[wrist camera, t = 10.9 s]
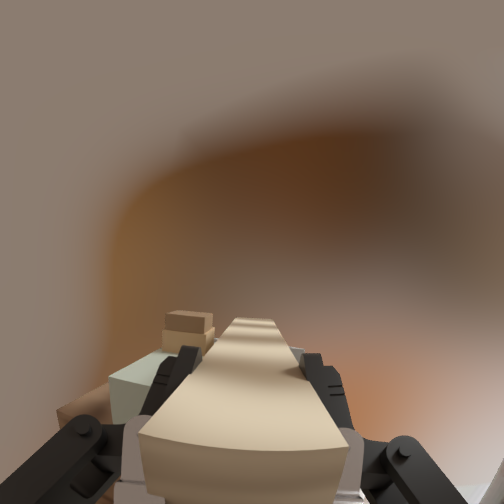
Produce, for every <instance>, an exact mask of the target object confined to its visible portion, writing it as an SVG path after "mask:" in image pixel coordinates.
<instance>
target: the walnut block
mask: <svg viewBox="0 0 504 504" xmlns="http://www.w3.org/2000/svg"><path fill="white" fill-rule="evenodd" d="M56 411H57V417H58V421H59V426H60V429H62V428H63V427H64V426H65V425H66V424H67V423H68V422H69V421H70V420H71V419H73V418H74V417H76V416H78V415H82V414H87V415H91V416H93V417H95V418H96V419H97V420H98V421H99V422H100V423H101V424H113V420H112V412H111V403H110V391H109V382H107V383H105V384H104V385H102V386H100V387H98V388H96V389H95V390H93V391H91V392H89V393H87V394H85V395H83V396H82V397H80V398H78V399H76V400H74V401H72V402H70V403H69V404H67V405H65V406H63V407H61V408H59V409H57V410H56ZM120 478H121V475H120V476H119V477H118V479H117V480H116V481H118V480H120ZM116 481H115V482H114V483H113V484H112V485H111V486H110V488H109V489H108V490H107V491H106V492H105V493H104V494H103V495H102V496H101V498H100V499H99V500H98V501H97V502H96V503H95V504H114V486H115V483H116Z"/></svg>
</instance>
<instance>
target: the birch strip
mask: <svg viewBox="0 0 504 504" xmlns="http://www.w3.org/2000/svg"><path fill="white" fill-rule="evenodd" d="M138 437H139V446H140V453H141V460H142V466H143V472H144V478H145V483H146V488H147V493H148V494H151V495H155V496H159V497H163V498H165V500H166V503H167V504H333V501H334V498H335V495H336V492H337V489H338V486H339V482H340V479H341V476H342V472H343V469H344V465H345V461H346V457H347V453H348V449H349V445H348V444H347V442H346V440H345V439H344V437H343V436H342V434H341V432H340V431H339V429H338V428H337V426H336V424H335V423H334V421H333V419H332V418H331V416H330V415H329V413H328V411H327V410H326V408H325V406H324V405H323V403H322V402H321V400H320V398H319V397H318V395H317V393H316V392H315V390H314V388H313V387H312V385H311V383H310V382H309V381H307V380H306V378H305V377H304V375H303V373H302V371H301V370H300V368H299V363H298V362H297V360H296V358H295V357H294V355H293V353H292V352H291V350H290V348H289V347H288V345H287V343H286V342H285V340H284V338H283V337H282V335H281V333H280V332H279V330H278V328H277V326H276V325H275V323H274V321H273V320H272V319H255V318H238V317H236V318H235V319H234V321H233V322H232V323H231V324H230V326H229V327H228V328H227V329H226V330H225V332H224V333H223V334H222V335H221V337H220V338H219V339H218V340H217V341H216V343H215V344H214V345H213V346H212V347H211V349H210V350H209V351H208V352H207V353H206V355H205V356H204V357H203V358H202V362H201V363H200V364H199V365H198V367H197V368H196V369H195V370H194V371H193V373H192V374H189V375H188V376H187V377H186V378H185V379H184V381H183V382H182V383H181V384H180V385H179V386H178V388H177V389H176V390H175V391H174V392H173V393H172V395H171V396H170V397H169V398H168V399H167V400H166V402H165V403H164V404H163V405H162V406H161V407H160V408H159V410H158V411H157V412H156V413H155V414H154V415H153V416H152V417H151V419H150V420H149V421H148V422H147V423H146V424H145V425H144V426H143V428H142V429H141V430H140V431H139V432H138Z"/></svg>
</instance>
